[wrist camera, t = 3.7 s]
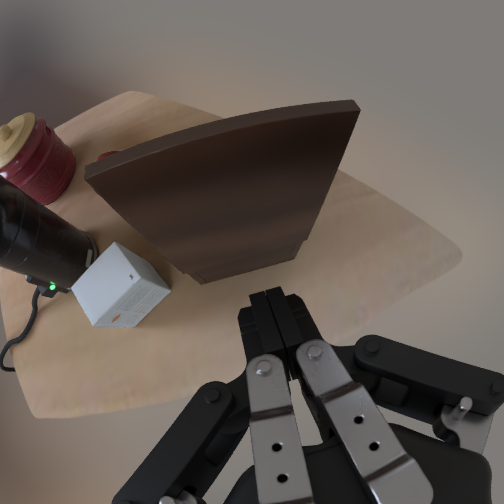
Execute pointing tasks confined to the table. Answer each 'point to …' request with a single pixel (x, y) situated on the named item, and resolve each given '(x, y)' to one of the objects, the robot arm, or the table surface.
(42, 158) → the kitchen canister
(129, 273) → the small box
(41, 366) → the table surface
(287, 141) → the lid
